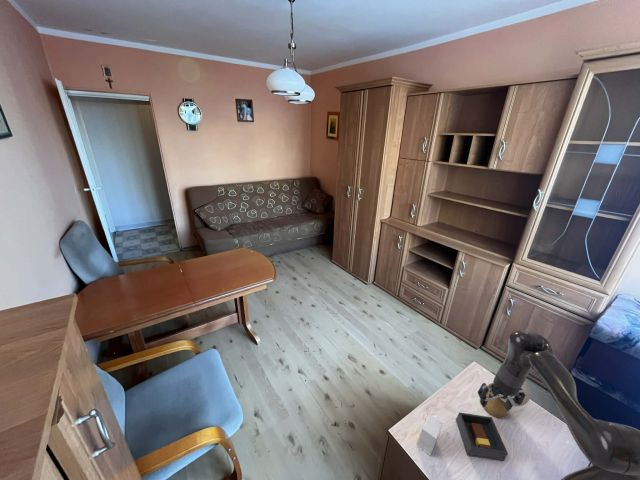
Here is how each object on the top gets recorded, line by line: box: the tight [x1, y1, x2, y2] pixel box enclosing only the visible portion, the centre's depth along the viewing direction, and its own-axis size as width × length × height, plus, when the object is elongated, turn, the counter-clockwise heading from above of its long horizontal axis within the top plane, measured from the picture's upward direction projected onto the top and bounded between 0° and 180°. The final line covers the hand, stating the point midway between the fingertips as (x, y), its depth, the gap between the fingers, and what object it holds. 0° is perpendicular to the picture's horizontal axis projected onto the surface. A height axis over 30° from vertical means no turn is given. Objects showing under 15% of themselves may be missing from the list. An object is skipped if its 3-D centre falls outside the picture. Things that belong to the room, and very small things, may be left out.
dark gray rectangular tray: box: [455, 412, 509, 462], centre depth 117 cm, size 15×15×6 cm
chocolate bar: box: [469, 423, 491, 449], centre depth 117 cm, size 10×5×3 cm, turn 173°
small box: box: [415, 413, 444, 457], centre depth 113 cm, size 8×6×13 cm
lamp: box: [482, 379, 532, 419], centre depth 125 cm, size 15×14×25 cm
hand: (494, 406), depth 99 cm, fingers open, 8 cm apart
